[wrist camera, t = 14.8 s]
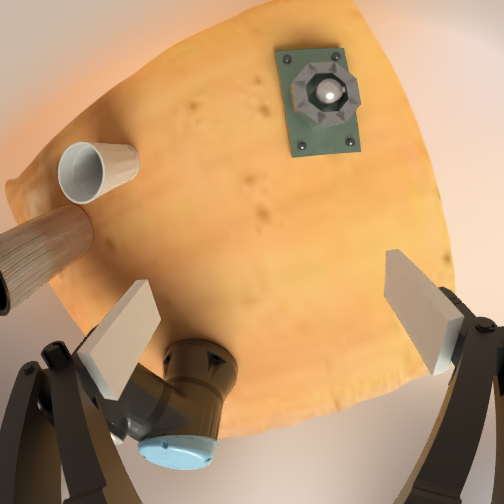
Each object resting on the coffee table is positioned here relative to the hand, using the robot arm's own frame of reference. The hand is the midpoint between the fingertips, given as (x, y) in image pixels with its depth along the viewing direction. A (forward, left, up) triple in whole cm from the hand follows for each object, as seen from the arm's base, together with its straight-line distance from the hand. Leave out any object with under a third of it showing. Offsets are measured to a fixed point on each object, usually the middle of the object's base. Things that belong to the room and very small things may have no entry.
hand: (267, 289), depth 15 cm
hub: (+9, +13, -27) cm, 31 cm away
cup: (-22, +9, -29) cm, 37 cm away
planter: (-36, 0, -29) cm, 46 cm away
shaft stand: (+9, +13, -29) cm, 33 cm away
